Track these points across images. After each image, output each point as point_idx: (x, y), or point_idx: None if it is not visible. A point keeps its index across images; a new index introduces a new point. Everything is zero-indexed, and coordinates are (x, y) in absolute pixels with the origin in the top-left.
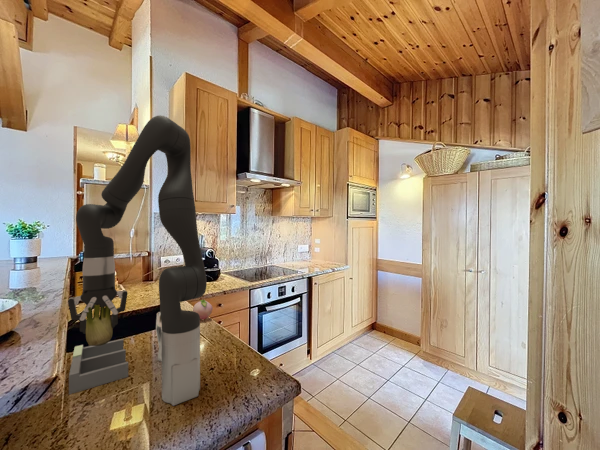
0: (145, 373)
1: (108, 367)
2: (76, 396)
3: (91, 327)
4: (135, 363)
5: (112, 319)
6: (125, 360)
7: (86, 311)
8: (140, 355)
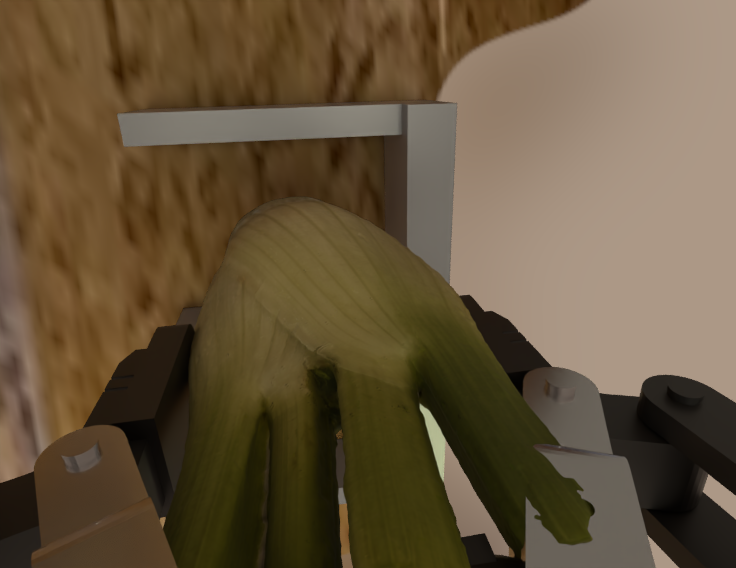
0: (38, 85)
1: (245, 127)
2: (390, 52)
3: (407, 282)
4: (124, 268)
5: (164, 380)
6: (181, 313)
7: (579, 451)
8: (108, 359)
